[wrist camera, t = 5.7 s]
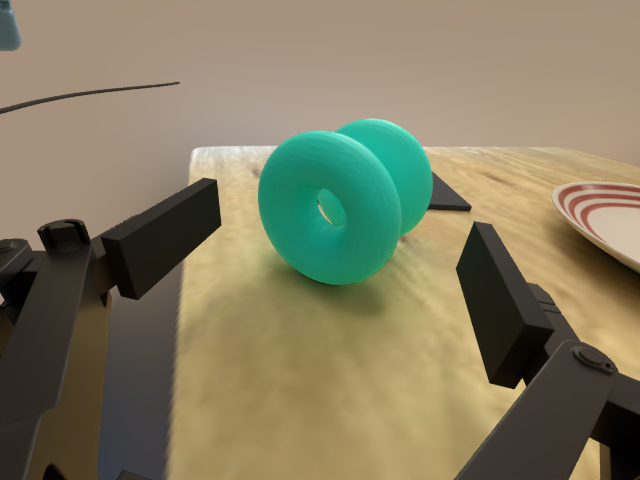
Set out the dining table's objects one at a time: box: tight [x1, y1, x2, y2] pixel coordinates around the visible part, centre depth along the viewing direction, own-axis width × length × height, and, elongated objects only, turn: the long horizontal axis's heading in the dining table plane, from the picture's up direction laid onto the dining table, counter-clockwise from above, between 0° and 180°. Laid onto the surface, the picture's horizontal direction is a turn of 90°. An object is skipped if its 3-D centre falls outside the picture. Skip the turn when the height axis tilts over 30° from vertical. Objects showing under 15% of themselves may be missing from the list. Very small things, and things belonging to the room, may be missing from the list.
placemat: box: [317, 172, 472, 211], centre depth 42 cm, size 20×20×1 cm
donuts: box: [258, 119, 433, 285], centre depth 22 cm, size 10×10×10 cm
